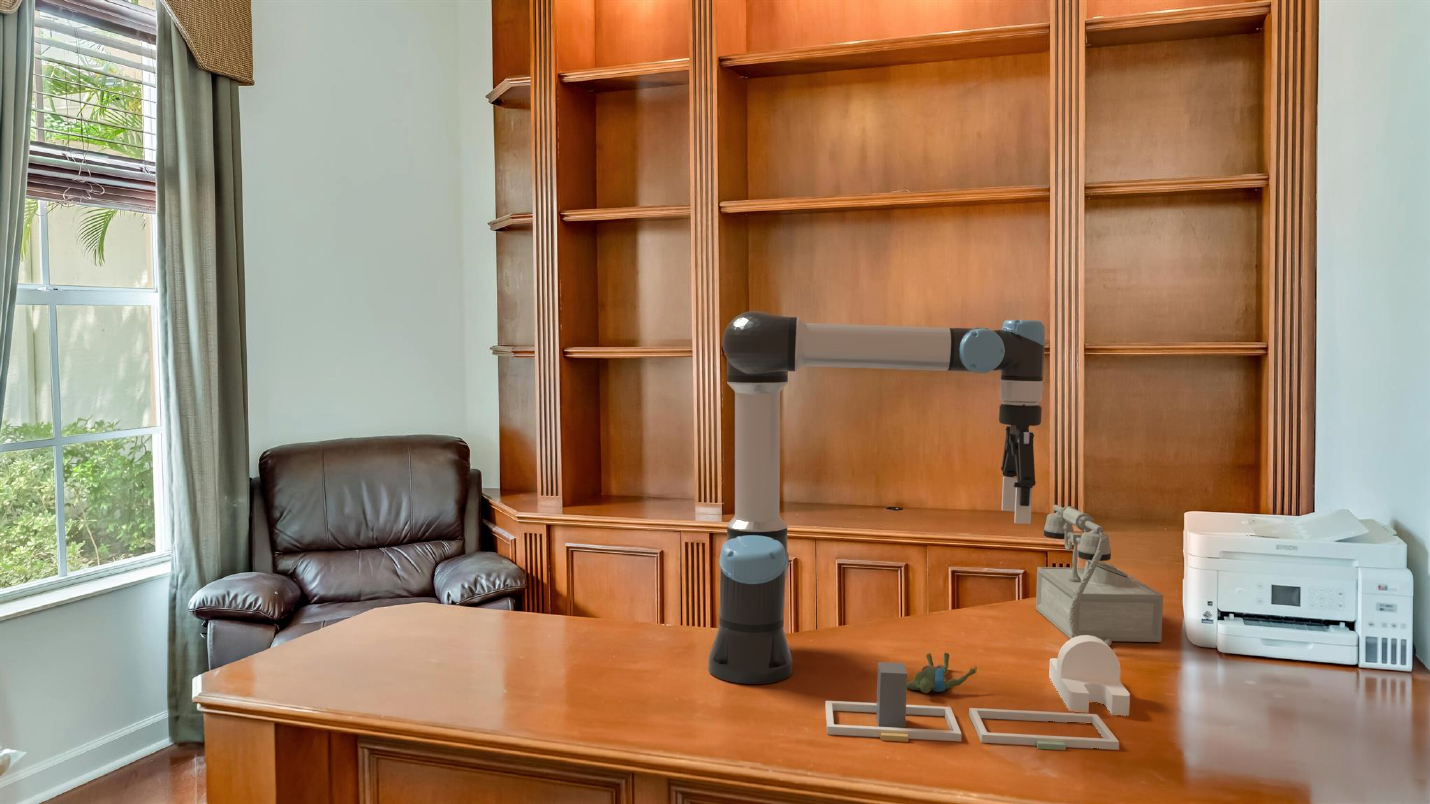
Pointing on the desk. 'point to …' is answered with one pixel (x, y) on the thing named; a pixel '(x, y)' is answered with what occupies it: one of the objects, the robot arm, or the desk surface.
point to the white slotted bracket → (1089, 676)
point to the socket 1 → (890, 732)
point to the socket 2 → (1042, 740)
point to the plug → (891, 695)
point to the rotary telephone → (1094, 587)
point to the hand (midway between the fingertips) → (1015, 517)
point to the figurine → (935, 677)
